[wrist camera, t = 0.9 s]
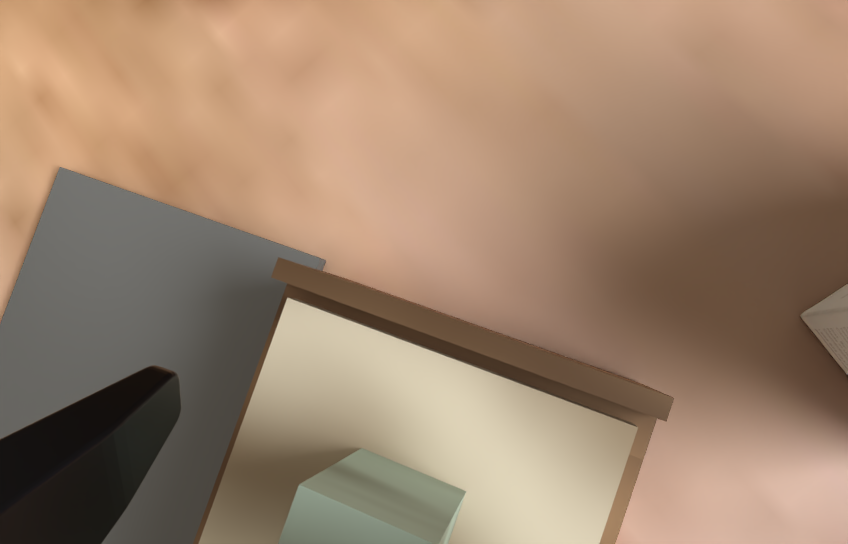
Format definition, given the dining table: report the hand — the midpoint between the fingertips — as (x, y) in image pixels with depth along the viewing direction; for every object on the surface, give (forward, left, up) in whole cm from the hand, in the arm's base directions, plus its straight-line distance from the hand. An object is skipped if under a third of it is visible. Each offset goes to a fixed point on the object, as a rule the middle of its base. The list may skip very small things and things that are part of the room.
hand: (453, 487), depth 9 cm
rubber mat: (-4, +14, -13) cm, 20 cm away
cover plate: (-4, +2, -8) cm, 9 cm away
